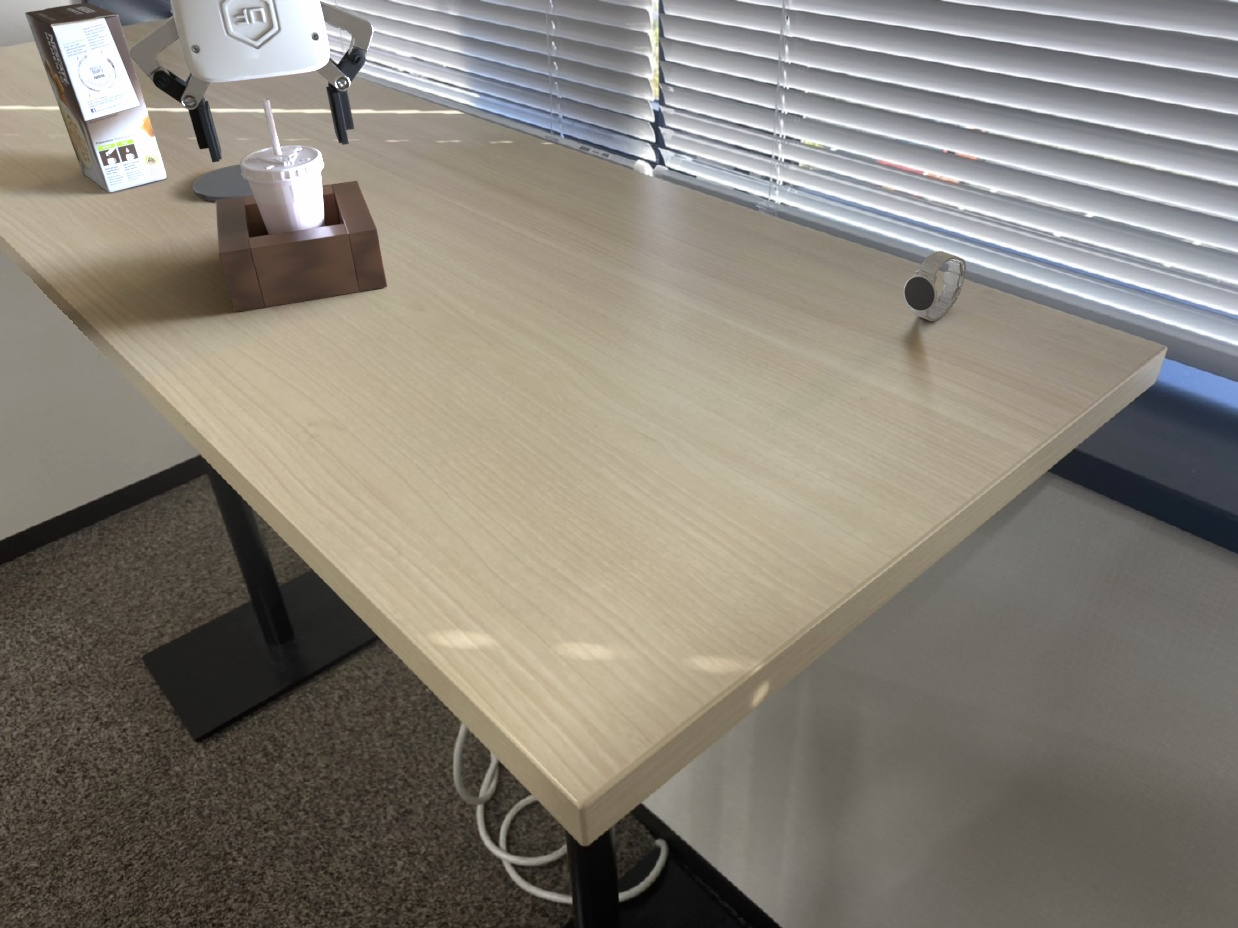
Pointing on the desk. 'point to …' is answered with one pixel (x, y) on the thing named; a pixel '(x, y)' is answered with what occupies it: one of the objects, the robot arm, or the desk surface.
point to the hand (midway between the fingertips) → (280, 148)
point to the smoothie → (285, 183)
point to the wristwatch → (924, 291)
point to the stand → (299, 252)
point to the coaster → (222, 184)
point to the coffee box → (98, 94)
